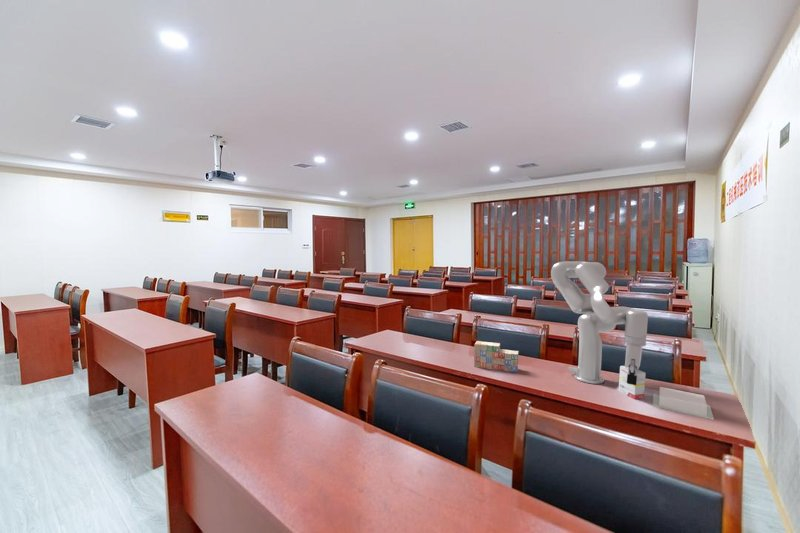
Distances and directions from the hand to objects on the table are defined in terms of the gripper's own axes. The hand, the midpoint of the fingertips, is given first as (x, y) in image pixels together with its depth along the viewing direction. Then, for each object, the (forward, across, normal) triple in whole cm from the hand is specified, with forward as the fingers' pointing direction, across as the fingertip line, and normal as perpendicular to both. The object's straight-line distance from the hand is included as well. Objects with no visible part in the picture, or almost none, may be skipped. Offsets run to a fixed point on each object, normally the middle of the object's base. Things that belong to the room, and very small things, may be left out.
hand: (632, 380), depth 149 cm
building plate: (+7, 0, +16) cm, 18 cm away
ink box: (+7, 0, 0) cm, 7 cm away
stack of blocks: (+8, +1, -58) cm, 59 cm away
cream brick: (+6, 0, +16) cm, 17 cm away
